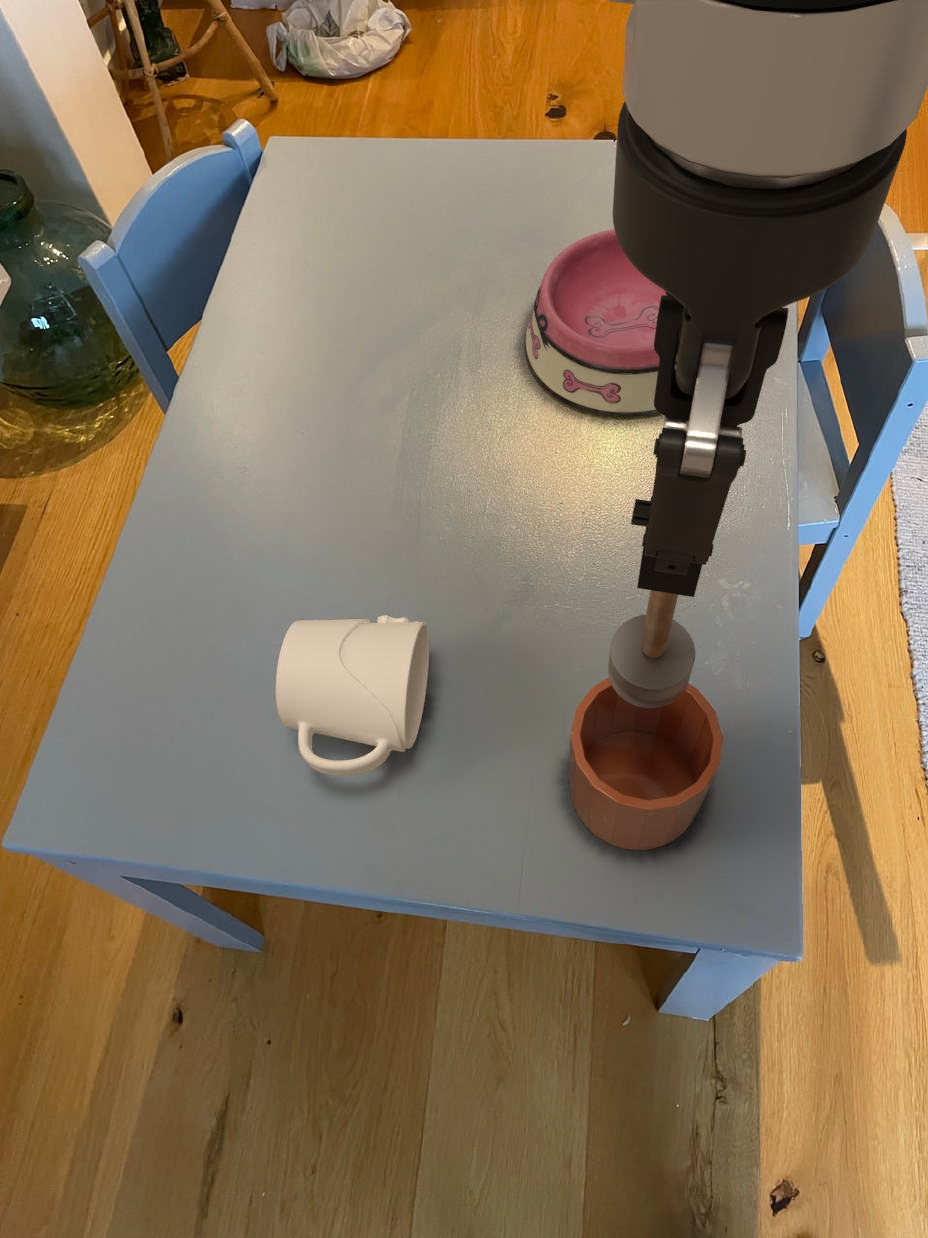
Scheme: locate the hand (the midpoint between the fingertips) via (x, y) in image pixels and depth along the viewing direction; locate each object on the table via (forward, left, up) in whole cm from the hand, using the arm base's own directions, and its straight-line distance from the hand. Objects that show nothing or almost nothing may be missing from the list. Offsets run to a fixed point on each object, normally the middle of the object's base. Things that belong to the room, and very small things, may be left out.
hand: (669, 567), depth 45 cm
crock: (-1, +3, -26) cm, 26 cm away
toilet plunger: (0, 0, -12) cm, 12 cm away
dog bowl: (+7, -39, -26) cm, 48 cm away
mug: (+20, +2, -26) cm, 33 cm away
